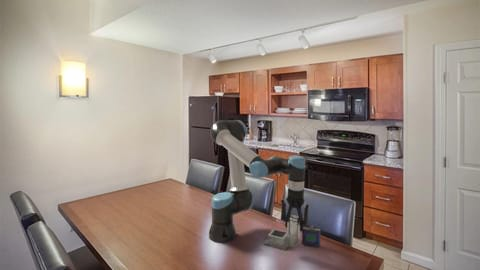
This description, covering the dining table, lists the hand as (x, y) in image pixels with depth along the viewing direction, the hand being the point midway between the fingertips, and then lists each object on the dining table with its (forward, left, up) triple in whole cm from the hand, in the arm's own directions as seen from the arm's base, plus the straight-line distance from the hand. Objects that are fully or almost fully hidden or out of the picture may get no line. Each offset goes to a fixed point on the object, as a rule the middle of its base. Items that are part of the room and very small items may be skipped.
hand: (293, 235), depth 127 cm
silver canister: (0, 0, -5) cm, 5 cm away
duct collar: (-10, +8, -10) cm, 16 cm away
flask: (+6, +13, -10) cm, 17 cm away
